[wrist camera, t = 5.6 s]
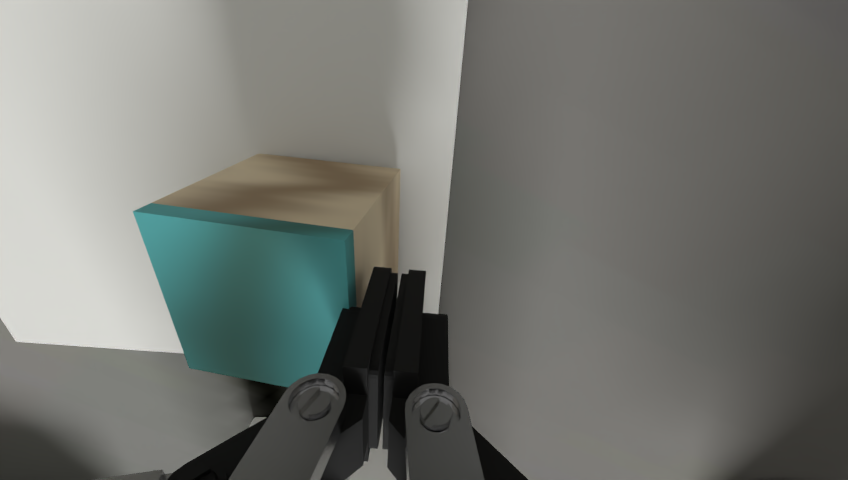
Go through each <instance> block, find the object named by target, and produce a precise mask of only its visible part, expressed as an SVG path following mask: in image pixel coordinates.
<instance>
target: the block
mask: <svg viewBox="0 0 848 480" xmlns="http://www.w3.org/2000/svg"><path fill="white" fill-rule="evenodd" d="M399 209H400V169H396V168H387V167H378V166H369V165H360V164H351V163H341V162H332V161H323V160H314V159H305V158H296V157H287V156H278V155H269V154H256V155H254V156H252V157H250V158H248V159H246V160H243V161H241V162H239V163H237V164H235V165H232V166H230V167H228V168H226V169H224V170H222V171H219V172H217V173H215V174H213V175H211V176H209V177H206V178H204V179H202V180H200V181H198V182H196V183H193V184H191V185H189V186H187V187H185V188H182V189H180V190H178V191H176V192H174V193H172V194H169V195H167V196H165V197H163V198H161V199H159V200H156V201H154V202H152V203H150V204H148V205H145V206H143V207H141V208H139V209H137V210H135V211H133V214H134V216H135V219H136V222H137V225H138V227H139V230H140V233H141V236H142V239H143V241H144V244H145V247H146V250H147V252H148V255H149V258H150V261H151V263H152V266H153V269H154V272H155V274H156V277H157V280H158V283H159V286H160V288H161V291H162V294H163V297H164V299H165V302H166V305H167V308H168V310H169V313H170V316H171V319H172V321H173V324H174V327H175V330H176V333H177V335H178V338H179V341H180V344H181V346H182V349H183V352H184V355H185V357H186V360H187V363H188V366H189V368H191V369H197V370H202V371H207V372H212V373H217V374H222V375H227V376H232V377H237V378H243V379H248V380H253V381H258V382H263V383H268V384H273V385H278V386H284V387H289V386H290V385H291V384H293V383H294V382H295V381H297V380H298V379H300V378H302V377H305V376H307V375H310V374H316V373H318V371H319V368H320V366H321V363H322V361H323V358H324V355H325V353H326V350H327V347H328V345H329V342H330V340H331V337H332V334H333V332H334V329H335V327H336V324H337V321H338V319H339V316H340V313H341V311H342V309H343V308H346V309H349V308H350V307H361V306H362V303H363V300H364V296H365V293H366V290H367V287H368V284H369V280H370V277H371V274H372V271H373V268H374V267H386V268H392V273H398V249H399ZM397 290H398V288H397Z"/></svg>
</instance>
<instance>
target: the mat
mask: <svg viewBox="0 0 848 480" xmlns="http://www.w3.org/2000/svg"><path fill="white" fill-rule="evenodd" d="M467 6H468V0H0V318H1V319H2V321H3V322H4V324H5V325H6V327H7V328H8V330H9V331H10V333H11V335H12V336H13V338H14V339H15V341H16V342H28V343H42V344H56V345H71V346H85V347H100V348H114V349H128V350H143V351H157V352H171V353H184V352H183V349H182V346H181V344H180V341H179V338H178V335H177V333H176V330H175V327H174V324H173V321H172V319H171V316H170V313H169V310H168V308H167V305H166V302H165V299H164V297H163V294H162V291H161V288H160V286H159V283H158V280H157V277H156V274H155V272H154V269H153V266H152V263H151V261H150V258H149V255H148V252H147V250H146V247H145V244H144V241H143V239H142V236H141V233H140V230H139V227H138V225H137V222H136V219H135V216H134V214H133V211H135V210H137V209H139V208H141V207H143V206H145V205H148V204H150V203H152V202H154V201H156V200H159V199H161V198H163V197H165V196H167V195H169V194H172V193H174V192H176V191H178V190H180V189H182V188H185V187H187V186H189V185H191V184H193V183H196V182H198V181H200V180H202V179H204V178H206V177H209V176H211V175H213V174H215V173H217V172H219V171H222V170H224V169H226V168H228V167H230V166H232V165H235V164H237V163H239V162H241V161H243V160H246V159H248V158H250V157H252V156H254V155H256V154H269V155H278V156H287V157H296V158H305V159H314V160H323V161H332V162H341V163H351V164H360V165H369V166H378V167H387V168H396V169H400V209H399V249H398V290H397V297H398V291H399V286H400V280H401V275H402V273H403V274H408V272H409V269H410V270H422V271H426V279H425V292H424V305H423V313H433V314H438V311H439V300H440V290H441V279H442V269H443V258H444V248H445V237H446V227H447V216H448V205H449V195H450V184H451V174H452V163H453V153H454V142H455V132H456V121H457V111H458V100H459V90H460V79H461V69H462V58H463V48H464V37H465V27H466V16H467Z"/></svg>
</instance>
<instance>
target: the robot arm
mask: <svg viewBox="0 0 848 480" xmlns="http://www.w3.org/2000/svg"><path fill="white" fill-rule="evenodd" d="M425 279H426V271H422V270H410V269H409V272H408V274H403V273H402V275H401V280H400V286H399V291H398V297H397V288H398V273H392V268H386V267H374V268H373V271H372V274H371V277H370V280H369V284H368V287H367V290H366V293H365V296H364V300H363V303H362V306H361V307H350V308H349V309H346V308H343V309H342V311H341V313H340V316H339V319H338V321H337V324H336V327H335V329H334V332H333V334H332V337H331V340H330V342H329V345H328V347H327V350H326V353H325V355H324V358H323V361H322V363H321V366H320V368H319V371H318V373H316V374H310V375H307V376H305V377H302V378H300V379H298V380H297V381H295V382H294V383H293V384H291V385H290V386H289V388H288V389H287V390H286V391H285V393H284V394H283V396H282V397H281V399H280V400H279V402H278V403H277V405H276V406H275V408H274V410H273V411H272V413H271V414H270V416H268V417H267V418H265V419H263V420H261V421H260V422H258V423H256V424H254V425H253V426H251V427H249V428H247V429H246V430H244V431H242V432H240V433H239V434H237V435H235V436H233V437H232V438H230V439H228V440H226V441H225V442H223V443H221V444H219V445H218V446H216V447H214V448H213V449H211V450H209V451H207V452H206V453H204V454H202V455H200V456H199V457H197V458H195V459H193V460H192V461H190V462H188V463H186V464H185V465H183V466H182V467H181V468H179V469H178V470H176V471H175V472H174V473H170V474H165V473H164V471H163V470H157V471H150V472H143V473H136V474H129V475H122V476H114V477H107V478H100V479H93V480H350V475H352V474H353V473H354V472H356V471H357V470H358V469H359V468H361V467H362V466H363V464H364V461H367V462H368V459H369V453H370V448H374V449H378V445H379V439H380V433H381V427H382V421H383V445H382V449H387V450H388V461H387V468H388V469H389V470H390V472H391V473H392V474H393V476H394V477H395V478H396V479H397V480H528V479H527V478H526V477H525V476H524V475H523V474H522V473H521V472H520V471H518V470H517V469H516V468H515V467H514V466H513V465H512V464H511V463H510V462H509V461H508V460H507V459H506V458H505V457H504V456H503V455H502V454H501V453H500V452H498V451H497V450H496V449H495V448H494V447H493V446H492V445H491V444H490V443H489V442H488V441H487V440H486V439H485V438H484V437H483V436H482V435H481V434H480V433H479V432H477V431H476V430H475V429H474V428H473V427H472V425H471V421H470V416H469V412H468V408H467V405H466V403H465V401H464V399H463V398H462V396H461V395H460V394H459V393H458V392H457V391H456V390H454V389H453V388H451V387H449V373H448V316H447V315H445V314H433V313H423V305H424V292H425Z"/></svg>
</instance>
